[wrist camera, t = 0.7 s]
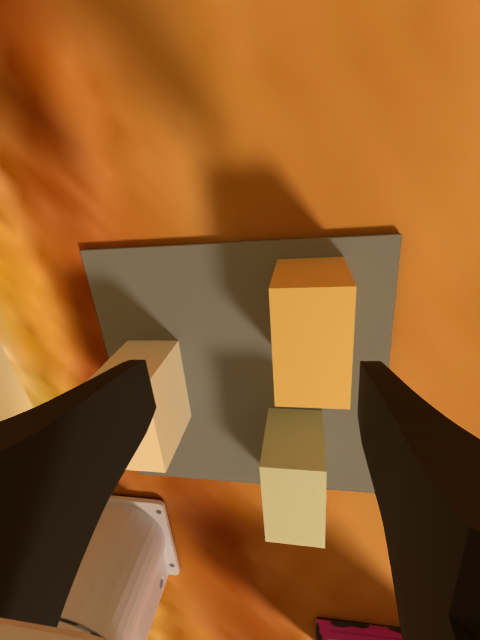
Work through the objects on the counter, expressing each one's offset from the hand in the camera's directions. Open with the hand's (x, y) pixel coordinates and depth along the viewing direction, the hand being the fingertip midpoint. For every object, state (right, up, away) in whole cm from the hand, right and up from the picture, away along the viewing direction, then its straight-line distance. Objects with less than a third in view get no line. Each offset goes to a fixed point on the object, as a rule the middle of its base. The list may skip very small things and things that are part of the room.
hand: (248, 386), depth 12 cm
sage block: (+4, -6, +12) cm, 14 cm away
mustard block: (+4, +3, +8) cm, 9 cm away
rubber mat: (0, -2, +11) cm, 11 cm away
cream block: (-6, -2, +12) cm, 13 cm away
